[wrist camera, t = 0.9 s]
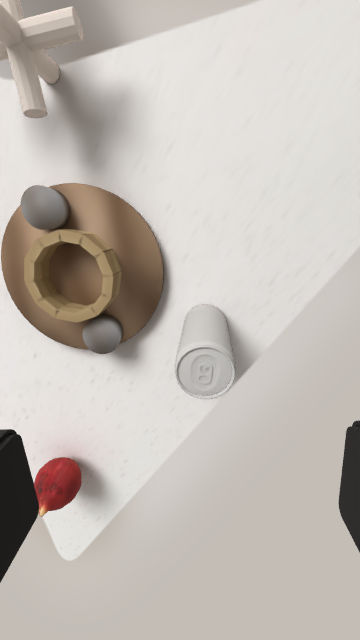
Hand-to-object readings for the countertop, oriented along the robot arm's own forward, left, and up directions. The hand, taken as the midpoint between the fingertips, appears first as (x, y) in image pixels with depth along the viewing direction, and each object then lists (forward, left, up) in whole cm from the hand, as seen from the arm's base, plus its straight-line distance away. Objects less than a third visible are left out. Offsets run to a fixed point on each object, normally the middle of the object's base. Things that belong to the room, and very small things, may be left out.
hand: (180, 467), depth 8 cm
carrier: (+12, -6, -25) cm, 28 cm away
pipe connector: (+7, -24, -25) cm, 35 cm away
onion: (+26, +18, -25) cm, 40 cm away
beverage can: (+1, +4, -25) cm, 26 cm away
